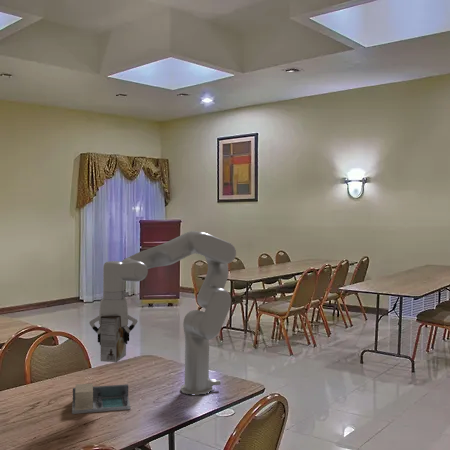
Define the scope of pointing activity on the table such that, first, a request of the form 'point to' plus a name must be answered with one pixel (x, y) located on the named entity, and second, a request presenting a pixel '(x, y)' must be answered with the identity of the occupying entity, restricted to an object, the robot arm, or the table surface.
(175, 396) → the table surface
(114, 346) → the coffee box
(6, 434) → the table surface
